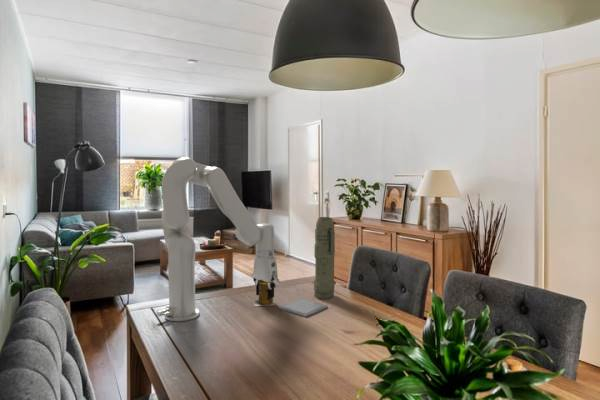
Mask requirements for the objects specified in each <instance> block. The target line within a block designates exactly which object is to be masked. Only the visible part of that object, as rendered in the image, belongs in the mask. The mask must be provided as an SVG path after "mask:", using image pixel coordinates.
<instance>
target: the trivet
mask: <svg viewBox="0 0 600 400" xmlns="http://www.w3.org/2000/svg"><path fill="white" fill-rule="evenodd" d="M328 307H329V305H326V304H322V303H319V302H316V301H311V300H308V299H304V298H297V299H296V300H294V301H290V302H289V303H285V304H283V305H280V306H278V310H280V311H284V312H287V313H290V314H292V315H296V316H299V317H303V318H308V317H310V316H313V315H315V314H317V313H319V312H322V311H324V310H326V309H328Z"/></svg>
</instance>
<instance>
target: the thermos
mask: <svg viewBox="0 0 600 400" xmlns="http://www.w3.org/2000/svg"><path fill="white" fill-rule="evenodd" d="M314 233H315V234H314V235H315V238H314V239H315V242H314V254H313V256H314V258H315V265H314V266H315V271H314V272H315V273H314V274H315V277H314V281H313V291H314V295H313V296H314V297H315V298H316V299H320V300H330V299H331V300H332V299H333V298H334V296H335V293H334V292H335V280H334V258H335V252H336V251H335V249H336V248H335V238H336V237H335V231H334V221H333V219H332V217H329V216H320V217H318V218H317V220H316V224H315V230H314Z"/></svg>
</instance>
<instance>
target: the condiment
mask: <svg viewBox="0 0 600 400" xmlns="http://www.w3.org/2000/svg"><path fill="white" fill-rule="evenodd" d="M271 285H272V283H271ZM268 289H269V287H268V284H267V282H265V281H263V280H260V281H259V295H258V299H253V300H252V302H253V305H254V307H263V306H265V307H267V306H276V303H275V300H274V297H273V298H270V299H268Z"/></svg>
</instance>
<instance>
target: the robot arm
mask: <svg viewBox="0 0 600 400" xmlns="http://www.w3.org/2000/svg"><path fill="white" fill-rule="evenodd" d="M188 183H191V184H194V185H197V186H202V187H205V188H207V189H208V192H209V193H210V195H211V196H212V198H213V199H214V201H215V203H216V205H217V206H218V208H219V210H220V211H221V212H222V214H223V215H225V216H226V217H227V218H228V219H229V220H230V221H231V222H232V224H233V226H234V227H235V231H234V234H235V237H236V239H237V240H238V241H240V242H242V243H244V244H245V245H247V246H254V245H255V256H254V261H253V272H252V273H251V274H250V275H251V278H252V280H253V282H254V286H256V287H255V294H256V296H259V281H260V280H263V281H265V282H267V284H268V287H269V289H268V299H270V298H273V299H274V297H275V288H277V286H278V284H279V283H280V282H281V281H280V279H279V278H278V264H277V263H278V262H277V259H276V257H275V255H276V253H275V234H274V233H275V227H274V225H273V224H272V223H258V224H257V223H256V221H255V219H254V218H253V216H252V214H251V213H250V211H249V210H248V209H247V207H246V206H245V205H244V203H243V202H242V201H241V199H240V197H239V196H238V194H237V192H236V191H235V189H234V187H233V185H232V183H231V182H230V180H229V178H228V176H227V174H226V173H225V172H224V170H223V169H222V168H220V167H217V166H209V165H206V164H203V163H198V162H196V161H195V160H194V159H193V158H191V157H188V156H182V157H179V158H177V159H175V160H174V161H173V162H172V163H171V165H169V167H168V168H167V170H165V172H164V174H163V177H162V180H161V197H162V205H163V207H162V211H161V225H162V230H163V237H164V241H165V242H164V244H165V246H166V248H167V250H168V251H167V253H168V256H167V257H168V268H167V269H168V271H167V272H168V274H167V275H168V304H166V307H165V308H164V309H161V310H159V311H156V316H157V317H158V318H159V317H162V316H164V318H165V320H167V321H171V322H185V321H191V320H193V319H195V318H197V317H199V315H200V314H201V313H200V312H201V311H200V309H199V308H197V307H196V272H195V271H196V270H195V266H196V265H195V262H196V244H195V243H196V242H195V240H194V239H193V237H192V236H191V235H190V232H189V230H190V229H189V223H190V211H189V206H188V201H187V199H188V198H187V192H186V191H187V190H186V189H187V184H188ZM271 283H272V285H271Z"/></svg>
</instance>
